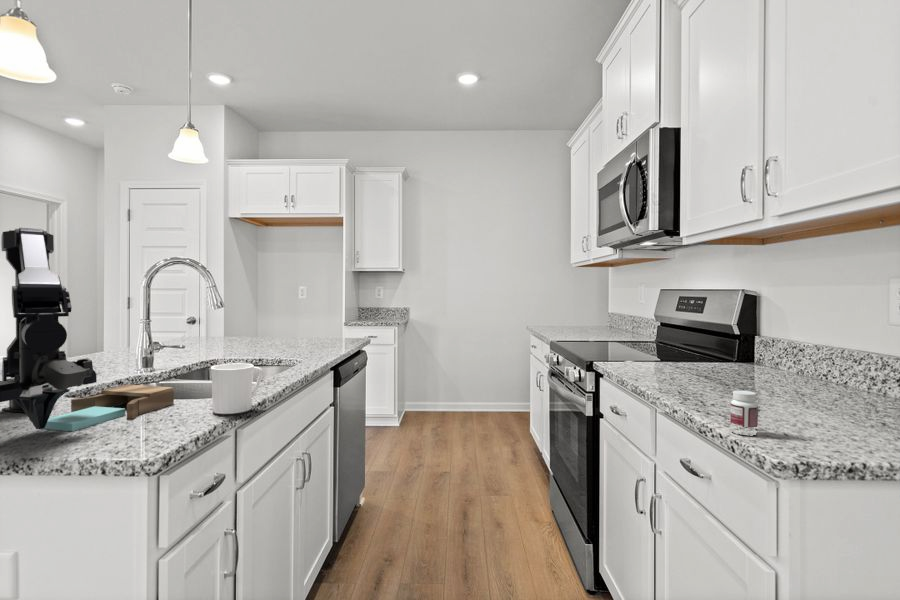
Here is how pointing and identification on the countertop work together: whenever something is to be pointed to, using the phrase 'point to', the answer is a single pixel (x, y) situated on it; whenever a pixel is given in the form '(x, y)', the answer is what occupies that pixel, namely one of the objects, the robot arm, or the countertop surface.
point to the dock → (129, 399)
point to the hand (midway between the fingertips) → (40, 428)
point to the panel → (83, 418)
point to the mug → (233, 388)
